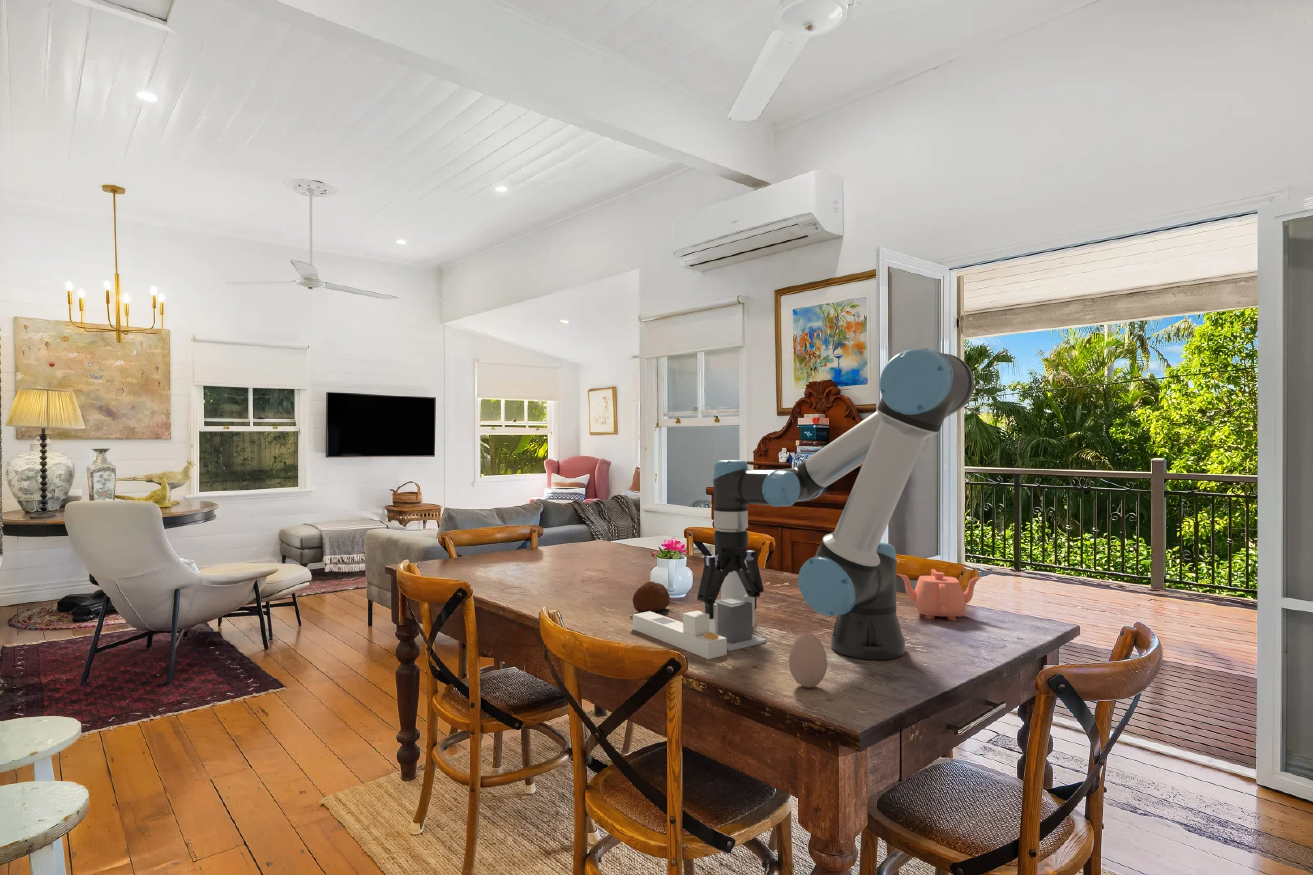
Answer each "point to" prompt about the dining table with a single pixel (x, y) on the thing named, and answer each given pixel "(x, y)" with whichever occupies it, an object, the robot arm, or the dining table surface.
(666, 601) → the potato
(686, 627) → the white plug
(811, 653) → the egg
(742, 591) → the milk bottle
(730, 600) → the block
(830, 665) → the dining table surface
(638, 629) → the power strip
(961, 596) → the teapot
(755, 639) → the mat
